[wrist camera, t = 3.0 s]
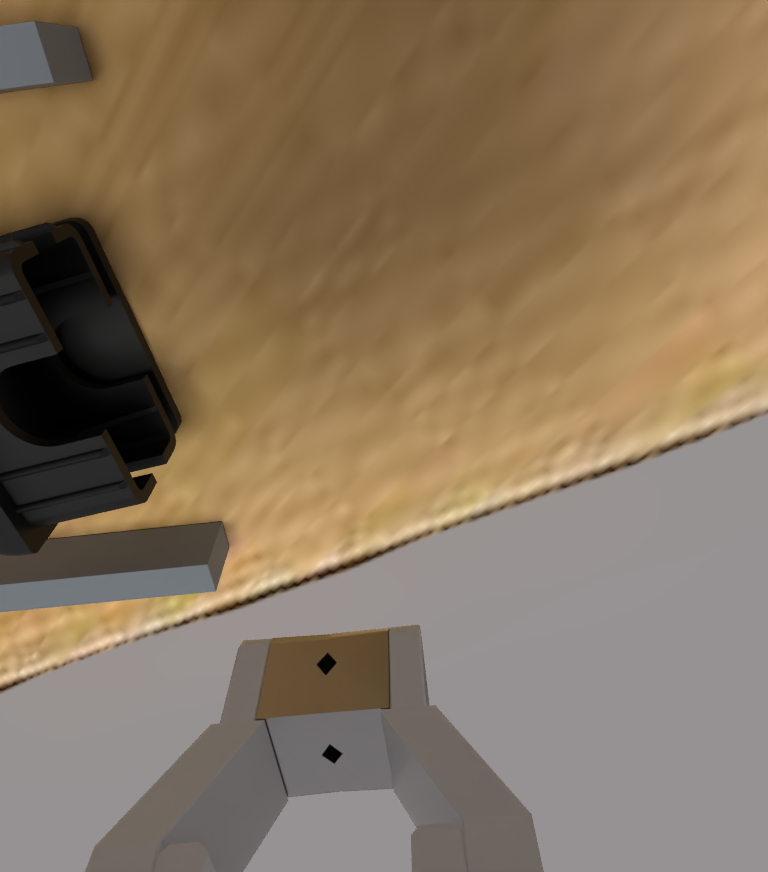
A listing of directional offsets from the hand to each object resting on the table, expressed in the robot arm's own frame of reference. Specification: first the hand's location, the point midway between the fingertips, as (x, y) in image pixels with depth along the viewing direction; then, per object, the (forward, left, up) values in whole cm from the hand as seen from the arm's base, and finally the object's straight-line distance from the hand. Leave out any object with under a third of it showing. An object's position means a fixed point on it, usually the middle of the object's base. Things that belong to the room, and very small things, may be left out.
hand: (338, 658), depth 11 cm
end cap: (0, -12, -17) cm, 21 cm away
